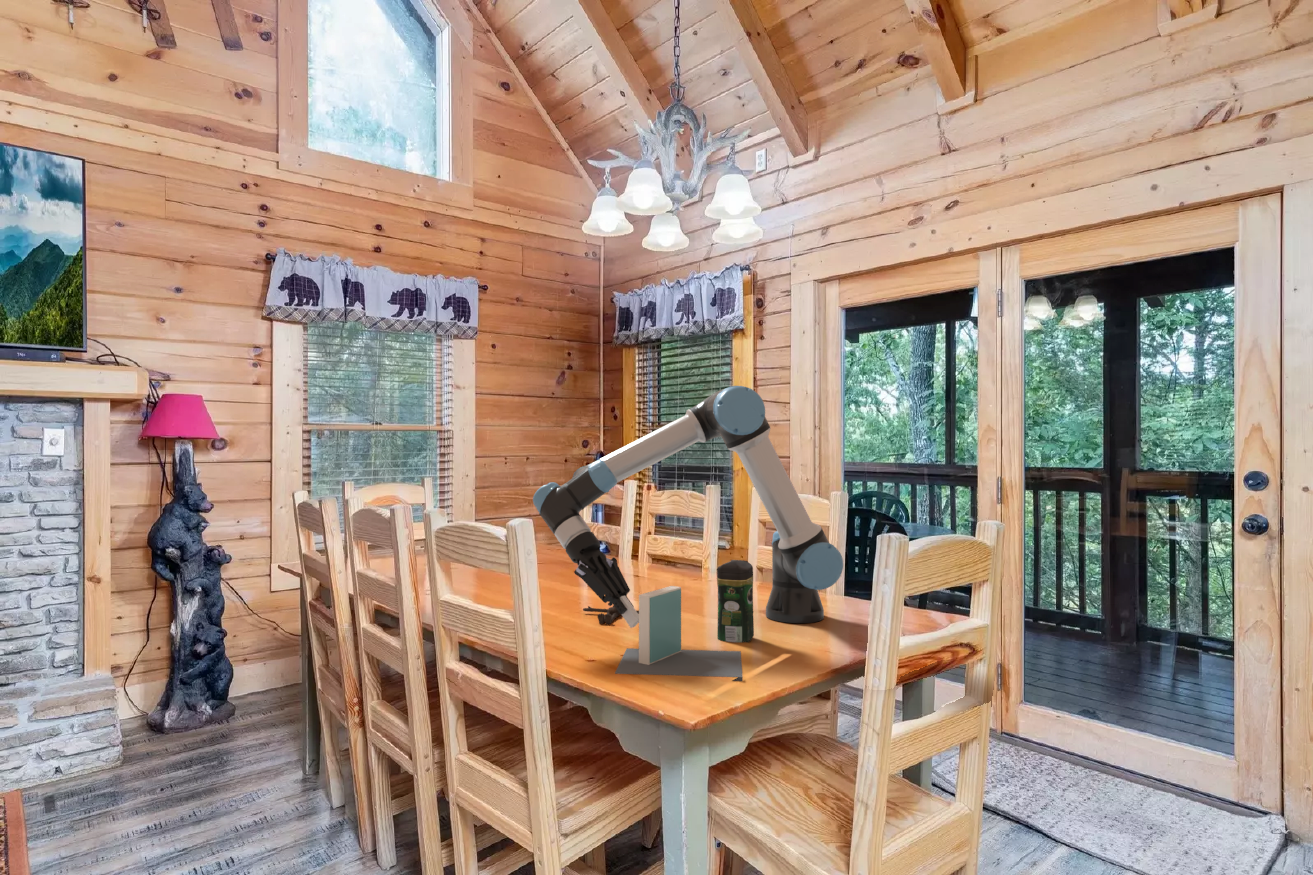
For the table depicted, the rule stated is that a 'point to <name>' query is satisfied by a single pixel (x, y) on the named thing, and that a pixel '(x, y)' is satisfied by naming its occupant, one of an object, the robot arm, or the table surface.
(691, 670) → the mat
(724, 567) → the coffee jar
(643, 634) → the tile
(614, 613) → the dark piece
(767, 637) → the table surface
